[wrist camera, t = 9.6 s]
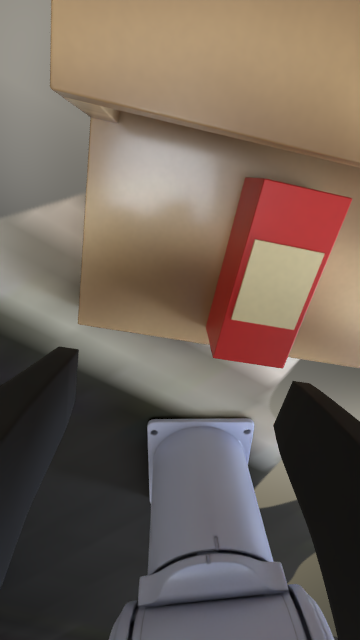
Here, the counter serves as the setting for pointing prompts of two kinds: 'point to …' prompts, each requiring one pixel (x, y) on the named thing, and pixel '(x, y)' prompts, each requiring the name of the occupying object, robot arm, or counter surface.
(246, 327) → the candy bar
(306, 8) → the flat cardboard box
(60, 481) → the counter surface
